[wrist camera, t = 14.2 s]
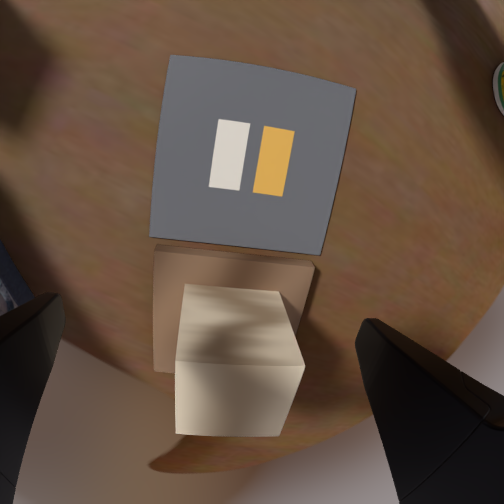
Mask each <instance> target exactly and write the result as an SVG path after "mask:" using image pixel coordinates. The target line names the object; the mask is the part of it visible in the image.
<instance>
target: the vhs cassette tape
mask: <svg viewBox="0 0 504 504" xmlns="http://www.w3.org/2000/svg"><path fill="white" fill-rule="evenodd" d="M34 298H35V297H34V295H33V294H32V292H31V290H30V289H29V287H28V286H27V284H26V283H25V281H24V279H23V278H22V276H21V274H20V273H19V271H18V270H17V268H16V266H15V265H14V263H13V261H12V259H11V258H10V256H9V254H8V252H7V251H6V249H5V247H4V245H3V243H2V242H1V240H0V316H1V315H3V314H5V313H7V312H9V311H11V310H12V309H14V308H16V307H18V306H20V305H22V304H24V303H26V302H28V301H30V300H32V299H34Z"/></svg>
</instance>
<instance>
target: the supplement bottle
mask: <svg viewBox="0 0 504 504" xmlns="http://www.w3.org/2000/svg"><path fill="white" fill-rule="evenodd" d="M493 91H494V97H495V100H496V103H497V105H498V108H499V109H500V111H501V113H502V114H503V115H504V62H502V63H501V64H500V65H499V66H498V67H497V69H496V70H495V73H494V77H493Z"/></svg>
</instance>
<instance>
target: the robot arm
mask: <svg viewBox="0 0 504 504" xmlns="http://www.w3.org/2000/svg"><path fill="white" fill-rule="evenodd" d="M64 326H65V313H64V308H63V303H62V298H61V296H60V294H58V293H52V292H46V293H44V294H42V295H40V296H38V297H36V298H34V299H32V300H30V301H28V302H26V303H24V304H22V305H20V306H18V307H16V308H14V309H12V310H11V311H9V312H7V313H5V314H3V315H1V316H0V504H13V499H14V494H15V489H16V488H15V487H16V484H17V479H18V475H19V471H20V467H21V463H22V458H23V455H24V452H25V448H26V444H27V441H28V437H29V434H30V431H31V428H32V424H33V421H34V418H35V415H36V412H37V409H38V406H39V403H40V400H41V397H42V394H43V391H44V389H45V386H46V383H47V380H48V378H49V375H50V373H51V370H52V367H53V364H54V360H55V357H56V353H57V350H58V346H59V342H60V339H61V336H62V332H63V329H64ZM355 348H356V352H357V356H358V361H359V365H360V370H361V374H362V379H363V383H364V387H365V390H366V393H367V396H368V399H369V402H370V406H371V409H372V412H373V415H374V418H375V421H376V424H377V427H378V431H379V434H380V437H381V440H382V443H383V447H384V450H385V453H386V457H387V460H388V463H389V467H390V470H391V474H392V478H393V481H394V485H395V488H396V492H397V496H398V499H399V501H400V502H399V504H504V396H503V395H501V394H499V393H498V392H496V391H494V390H492V389H490V388H489V387H487V386H485V385H483V384H482V383H480V382H478V381H477V380H475V379H473V378H472V377H470V376H468V375H467V374H465V373H464V372H460V370H459V369H457V368H456V367H454V366H452V365H451V364H449V363H448V362H446V361H445V360H443V359H441V358H440V357H438V356H437V355H435V354H433V353H432V352H430V351H429V350H427V349H425V348H424V347H422V346H421V345H419V344H417V343H416V342H414V341H413V340H411V339H409V338H408V337H406V336H405V335H403V334H401V333H400V332H398V331H397V330H395V329H393V328H392V327H390V326H389V325H387V324H385V323H384V322H382V321H380V320H379V319H376V318H366V319H364V321H363V322H362V325H361V327H360V330H359V332H358V335H357V337H356V340H355Z"/></svg>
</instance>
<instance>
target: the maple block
mask: <svg viewBox="0 0 504 504" xmlns="http://www.w3.org/2000/svg"><path fill="white" fill-rule="evenodd" d="M304 369H305V364H304V361H303V358H302V355H301V352H300V349H299V346H298V344H297V341H296V338H295V335H294V332H293V329H292V327H291V324H290V321H289V318H288V315H287V313H286V310H285V307H284V304H283V301H282V299H281V296H280V293H279V291H265V290H252V289H239V288H227V287H216V286H204V285H194V284H185V287H184V294H183V302H182V309H181V317H180V325H179V333H178V341H177V350H176V359H175V418H176V434H188V435H204V436H234V437H259V436H279V435H280V432H281V430H282V427H283V425H284V422H285V420H286V417H287V415H288V412H289V410H290V407H291V404H292V402H293V399H294V396H295V394H296V391H297V388H298V386H299V383H300V380H301V377H302V375H303V372H304Z"/></svg>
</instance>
